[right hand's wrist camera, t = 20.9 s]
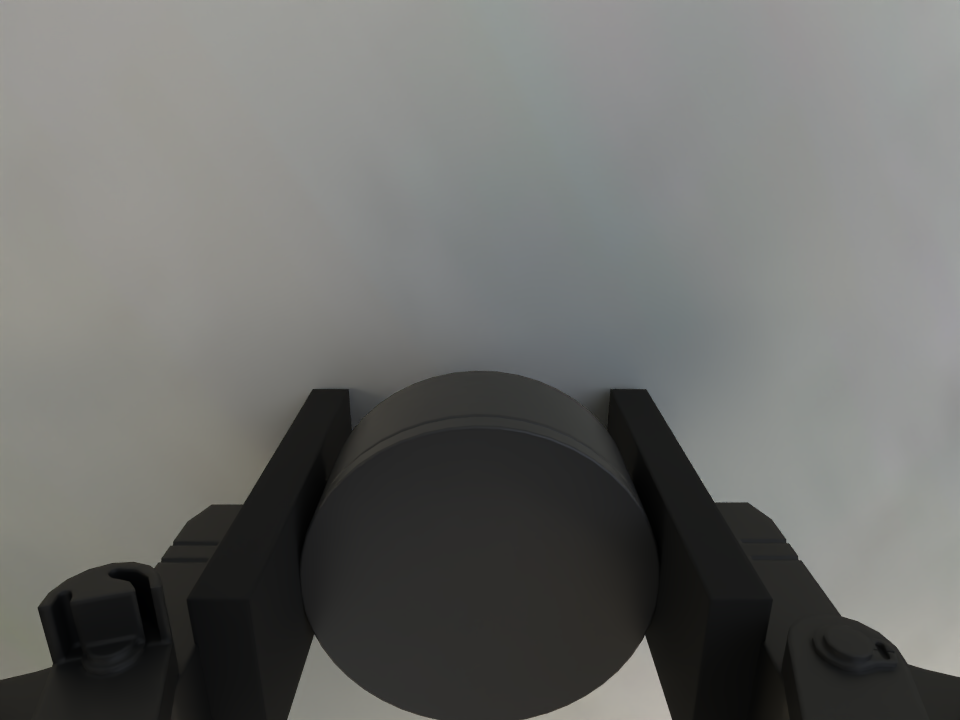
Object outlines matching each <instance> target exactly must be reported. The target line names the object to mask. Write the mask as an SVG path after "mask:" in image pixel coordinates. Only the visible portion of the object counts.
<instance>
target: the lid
mask: <svg viewBox="0 0 960 720" xmlns="http://www.w3.org/2000/svg"><path fill="white" fill-rule="evenodd" d="M299 575H300V586H301V595H302V601H303V605H304V610H305V613H306V616H307V618H308V621H309V623H310V626H311V628H312V631H313V632H314V634H315V636H316V638H317V639H318V641H319V643H320V645H321V646H322V648H323V649H324V650H325V652H326V653H327V654H328V656H329V657H330V658H331V659H332V661H333V662H334V663H335V664H336V665H337V666H338V667H339V668H340V669H341V670H342V671H343V672H344V673H345V674H346V675H347V676H348V677H349V678H350V679H352V680H353V681H354V682H355V683H357V684H358V685H359V686H361V687H362V688H363V689H364V690H366V691H368V692H369V693H371V694H373V695H374V696H376V697H378V698H379V699H381V700H383V701H385V702H387V703H389V704H391V705H393V706H396V707H398V708H400V709H402V710H405V711H408V712H411V713H414V714H417V715H420V716H424V717H428V718H432V719H437V720H523V719H528V718H532V717H536V716H539V715H543V714H547V713H549V712H552V711H554V710H557V709H560V708H562V707H565V706H567V705H569V704H571V703H573V702H575V701H577V700H579V699H581V698H583V697H584V696H586V695H588V694H589V693H591V692H592V691H594V690H595V689H597V688H598V687H600V686H601V685H602V684H604V683H605V682H606V681H607V680H608V679H609V678H611V677H612V676H613V675H614V674H615V673H616V672H618V671H619V669H620V668H621V667H622V666H623V665H624V664H625V663H626V662H627V661H628V659H629V658H630V657H631V656H632V655H633V653H634V652H635V650H636V649H637V647H638V646H639V644H640V643H641V641H642V640H643V638H644V636H645V634H646V632H647V630H648V628H649V626H650V624H651V621H652V618H653V615H654V612H655V609H656V606H657V598H658V589H659V580H660V559H659V553H658V547H657V543H656V540H655V537H654V534H653V531H652V528H651V525H650V522H649V520H648V517H647V515H646V513H645V510H644V508H643V505H642V503H641V501H640V498H639V496H638V493H637V491H636V488H635V486H634V484H633V481H632V479H631V476H630V474H629V471H628V469H627V467H626V464H625V462H624V459H623V457H622V455H621V453H620V451H619V449H618V447H617V445H616V443H615V441H614V440H613V438H612V437H611V436H610V434H609V433H608V431H607V430H606V429H605V427H604V426H603V425H602V424H601V423H600V422H599V421H598V419H597V418H596V417H595V416H594V415H593V414H592V413H591V412H590V411H589V410H587V409H586V408H585V407H583V406H582V405H581V404H580V403H578V402H577V401H576V400H575V399H573V398H571V397H570V396H568V395H566V394H565V393H563V392H561V391H560V390H558V389H556V388H554V387H551V386H549V385H547V384H544V383H542V382H540V381H537V380H533V379H530V378H527V377H523V376H520V375H515V374H509V373H502V372H493V371H468V372H457V373H451V374H446V375H441V376H436V377H432V378H429V379H427V380H424V381H421V382H418V383H415V384H413V385H411V386H409V387H407V388H405V389H403V390H401V391H399V392H397V393H395V394H393V395H392V396H390V397H389V398H387V399H386V400H384V401H383V402H381V403H380V404H378V405H377V406H376V407H375V408H374V409H373V410H372V411H371V412H369V413H368V414H367V415H366V416H365V417H364V418H363V419H362V420H361V421H360V423H359V424H358V425H357V426H356V427H355V429H354V430H353V431H352V432H351V434H350V435H349V437H348V439H347V440H346V442H345V443H344V445H343V447H342V448H341V451H340V453H339V455H338V458H337V460H336V462H335V465H334V467H333V469H332V472H331V474H330V477H329V479H328V481H327V484H326V486H325V489H324V491H323V494H322V496H321V498H320V501H319V503H318V506H317V508H316V510H315V513H314V515H313V518H312V520H311V522H310V525H309V527H308V530H307V532H306V535H305V539H304V543H303V547H302V551H301V558H300V569H299Z"/></svg>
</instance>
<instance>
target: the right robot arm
mask: <svg viewBox="0 0 960 720" xmlns="http://www.w3.org/2000/svg"><path fill="white" fill-rule="evenodd" d="M351 432H352V430H351V417H350V403H349V389H313V390H312V392H311V393H310V395H309V397H308V398H307V400H306V402H305V403H304V405H303V407H302V408H301V410H300V412H299V413H298V415H297V416H296V418H295V420H294V421H293V423H292V425H291V426H290V428H289V430H288V431H287V433H286V435H285V436H284V438H283V440H282V441H281V443H280V445H279V446H278V448H277V450H276V451H275V453H274V455H273V456H272V458H271V460H270V461H269V463H268V465H267V466H266V468H265V470H264V471H263V473H262V475H261V476H260V478H259V480H258V481H257V483H256V485H255V486H254V488H253V489H252V491H251V493H250V494H249V496H248V498H247V499H246V501H245V503H244V504H243V505H211V506H209V507H208V508H206V509H205V510H204V511H202V512H201V513H199V514H198V515H196V516H195V517H194V518H192V519H191V520H189V521H188V522H187V523H186V525H185V526H184V528H183V529H182V530H181V532H180V533H179V535H178V536H177V537H176V539H175V540H174V542H173V546H170V547H169V549H168V550H167V551H166V553H165V554H164V556H163V557H162V561H161V563H158V564H157V565H156V567H155V568H154V569H153V568H152V567H151V566H149V565H145V564H140V563H136V562H124V563H111V564H107V565H103V566H100V567H96V568H92V569H89V570H87V571H84V572H82V573H80V574H78V575H76V576H74V577H71V578H69V579H67V580H66V581H64V582H63V583H62V584H60V585H59V586H58V587H56V588H55V589H54V590H52V591H51V592H49V593H48V595H47V596H46V597H45V599H44V600H43V601H42V603H41V604H40V605H39V606H38V611H39V615H40V618H41V622H42V626H43V629H44V633H45V636H46V640H47V643H48V647H49V650H50V654H51V657H52V661H53V665H52V667H50V668H47V669H44V670H40V671H37V672H33V673H29V674H25V675H21V676H16V677H12V678H8V679H3V680H0V720H287V718H288V715H289V712H290V709H291V706H292V702H293V699H294V696H295V693H296V690H297V687H298V683H299V680H300V677H301V674H302V671H303V668H304V665H305V661H306V658H307V655H308V652H309V649H310V646H311V643H312V639H313V636H314V632H313V631H312V628H311V626H310V623H309V621H308V618H307V616H306V613H305V610H304V605H303V601H302V595H301V586H300V575H299V569H300V558H301V551H302V547H303V543H304V539H305V535H306V532H307V530H308V527H309V525H310V522H311V520H312V518H313V515H314V513H315V510H316V508H317V506H318V503H319V501H320V498H321V496H322V494H323V491H324V489H325V486H326V484H327V481H328V479H329V477H330V474H331V472H332V469H333V467H334V465H335V462H336V460H337V458H338V455H339V453H340V451H341V448H342V447H343V445H344V443H345V442H346V440H347V439H348V437H349V435H350V434H351ZM608 433H609V434H610V436H611V437H612V438H613V440H614V441H615V443H616V445H617V447H618V449H619V451H620V453H621V455H622V457H623V459H624V462H625V464H626V467H627V469H628V471H629V474H630V476H631V479H632V481H633V484H634V486H635V488H636V491H637V493H638V496H639V498H640V501H641V503H642V505H643V508H644V510H645V513H646V515H647V517H648V520H649V522H650V525H651V528H652V531H653V534H654V537H655V540H656V543H657V547H658V553H659V559H660V580H659V589H658V598H657V606H656V609H655V612H654V615H653V618H652V621H651V624H650V626H649V628H648V630H647V632H646V634H645V636H646V639H647V642H648V645H649V648H650V651H651V654H652V658H653V661H654V664H655V667H656V670H657V673H658V676H659V680H660V683H661V686H662V689H663V692H664V695H665V698H666V702H667V705H668V708H669V711H670V714H671V717H672V720H960V677H956V676H951V675H947V674H943V673H938V672H934V671H930V670H925V669H922V668H919V667H915V666H912V665H909V664H907V662H906V661H905V659H904V658H903V656H902V655H901V653H900V652H899V650H898V649H897V647H896V646H895V645H893V644H892V643H891V642H890V641H889V640H887V639H886V638H885V637H884V636H883V635H881V634H880V633H879V632H877V631H875V630H873V629H871V628H870V627H868V626H866V625H864V624H862V623H860V622H858V621H855V620H851V619H848V618H845V617H842V616H841V615H840V614H839V612H838V611H837V609H836V608H835V607H834V605H833V604H832V602H831V601H830V600H829V598H828V597H827V596H826V594H825V593H824V591H823V590H822V589H821V587H820V586H819V584H818V583H817V582H816V580H815V579H814V577H813V576H812V575H811V573H810V572H809V571H808V569H807V568H806V566H805V565H804V564H803V562H802V561H801V560H798V555H797V554H796V552H795V551H794V550H793V548H792V547H791V545H790V544H789V543H786V539H785V537H784V536H783V534H782V533H781V532H780V530H779V529H778V527H777V526H776V525H775V523H774V522H773V520H772V519H770V518H769V517H767V516H766V515H765V514H763V513H762V512H760V511H759V510H758V509H756V508H755V507H753V506H752V505H750V504H749V503H714V501H713V499H712V498H711V496H710V494H709V493H708V491H707V489H706V488H705V486H704V484H703V483H702V481H701V479H700V478H699V476H698V474H697V473H696V471H695V469H694V468H693V466H692V464H691V463H690V461H689V459H688V458H687V456H686V454H685V453H684V451H683V449H682V448H681V446H680V445H679V443H678V441H677V440H676V438H675V436H674V435H673V433H672V431H671V430H670V428H669V426H668V425H667V423H666V421H665V420H664V418H663V416H662V415H661V413H660V411H659V410H658V408H657V406H656V405H655V403H654V401H653V400H652V398H651V396H650V395H649V393H648V391H647V390H646V389H611V391H610V405H609V418H608Z"/></svg>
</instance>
